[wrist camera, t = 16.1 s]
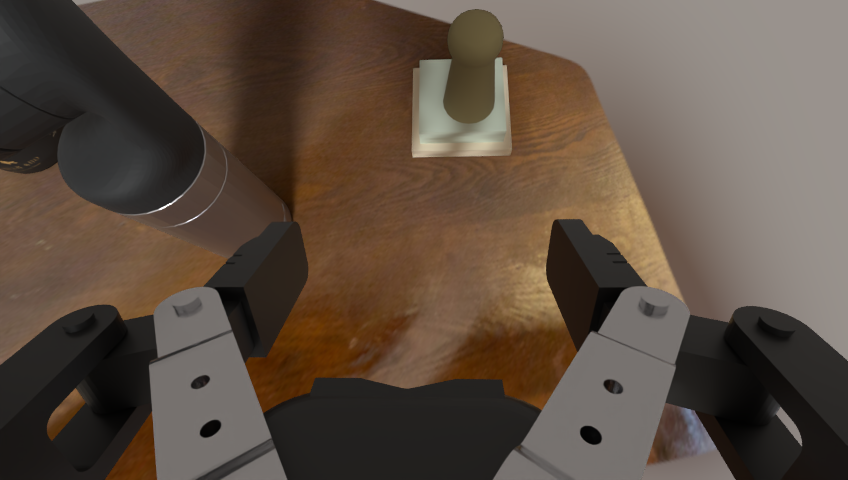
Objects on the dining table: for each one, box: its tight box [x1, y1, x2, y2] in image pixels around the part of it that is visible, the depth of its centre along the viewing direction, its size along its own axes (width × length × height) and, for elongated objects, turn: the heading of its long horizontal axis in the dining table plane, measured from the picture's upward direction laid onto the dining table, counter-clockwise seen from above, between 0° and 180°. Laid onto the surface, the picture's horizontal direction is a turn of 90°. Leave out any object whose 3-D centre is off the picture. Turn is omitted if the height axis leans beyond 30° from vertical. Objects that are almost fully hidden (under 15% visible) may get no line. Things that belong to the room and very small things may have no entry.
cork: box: [443, 9, 504, 124], centre depth 39 cm, size 6×6×11 cm
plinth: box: [412, 58, 512, 157], centre depth 46 cm, size 12×12×4 cm
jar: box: [0, 125, 65, 174], centre depth 47 cm, size 10×10×8 cm
